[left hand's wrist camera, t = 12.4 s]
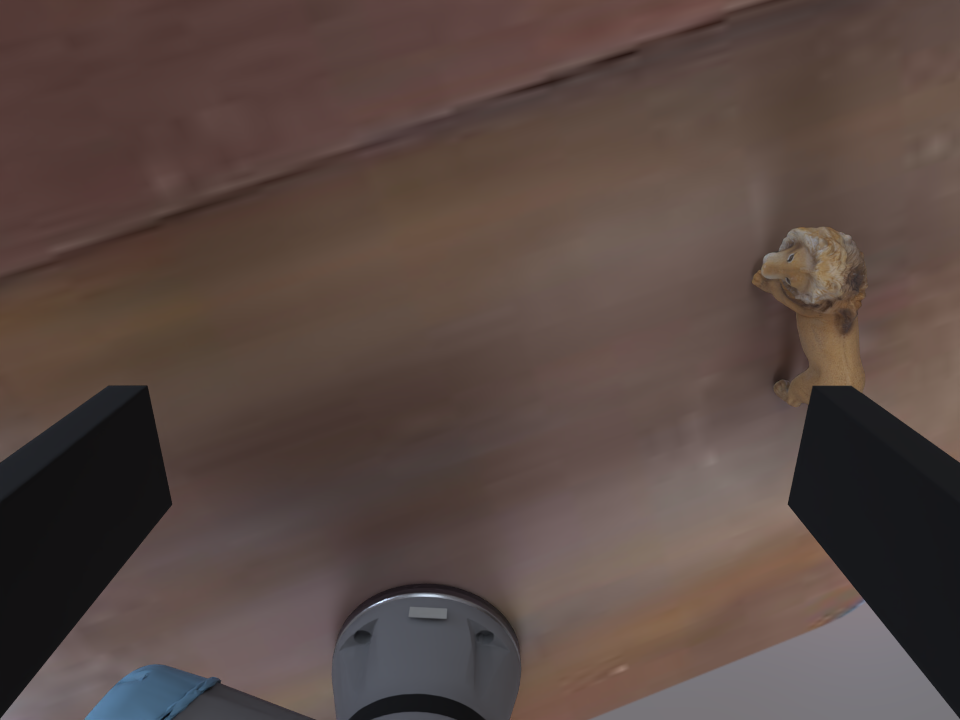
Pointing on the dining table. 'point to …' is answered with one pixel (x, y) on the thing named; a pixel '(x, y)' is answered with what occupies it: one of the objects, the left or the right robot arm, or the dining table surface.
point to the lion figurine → (819, 306)
